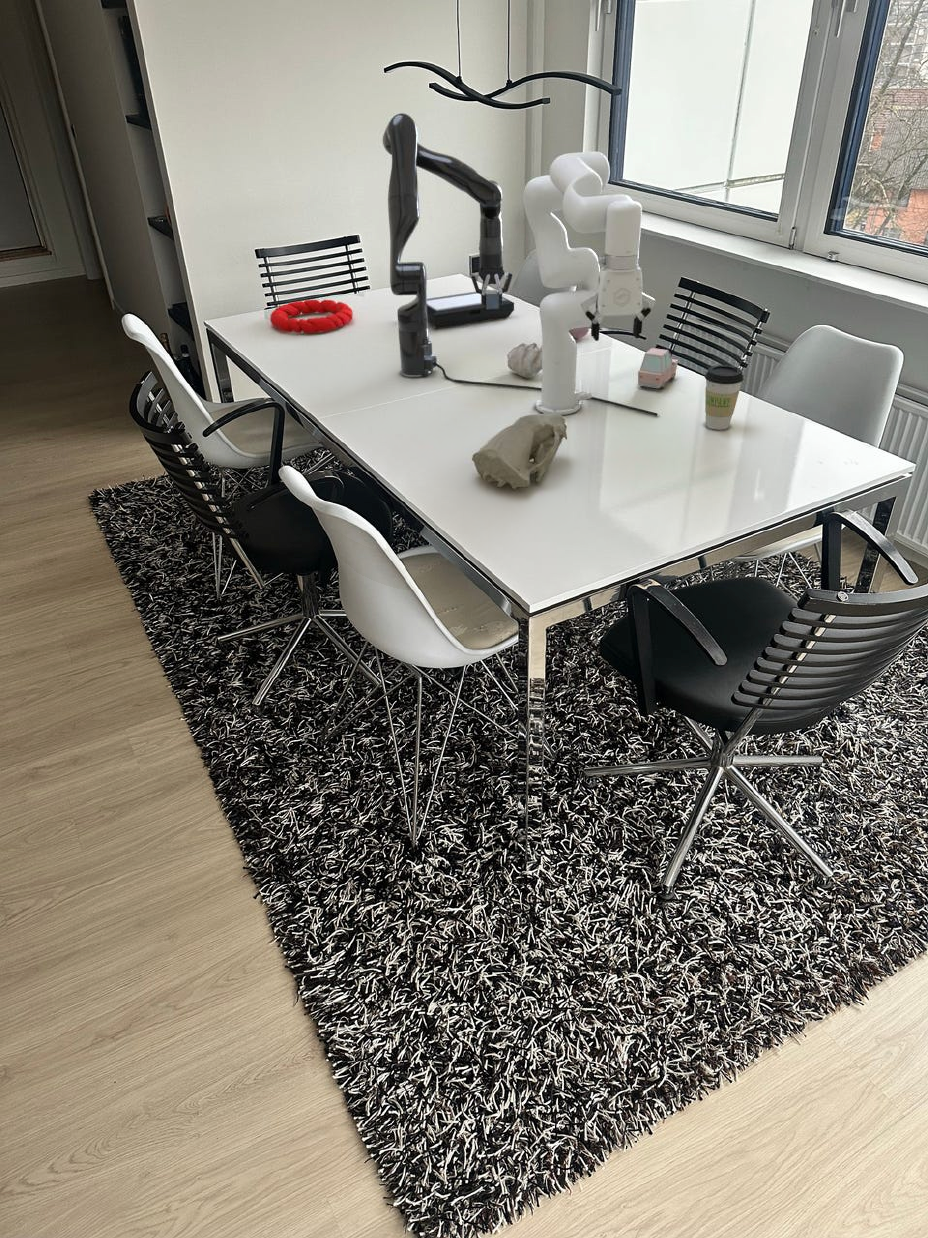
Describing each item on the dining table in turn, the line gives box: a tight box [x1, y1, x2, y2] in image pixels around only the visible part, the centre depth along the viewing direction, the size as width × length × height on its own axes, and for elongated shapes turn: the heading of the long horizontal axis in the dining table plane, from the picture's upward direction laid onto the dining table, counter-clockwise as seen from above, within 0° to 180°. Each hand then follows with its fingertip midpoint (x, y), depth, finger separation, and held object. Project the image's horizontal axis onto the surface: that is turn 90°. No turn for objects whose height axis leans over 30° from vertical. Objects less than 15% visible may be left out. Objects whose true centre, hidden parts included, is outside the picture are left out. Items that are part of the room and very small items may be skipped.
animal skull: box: [471, 412, 568, 490], centre depth 215 cm, size 17×25×20 cm
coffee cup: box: [704, 364, 745, 431], centre depth 235 cm, size 10×10×15 cm
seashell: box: [506, 342, 542, 379], centre depth 273 cm, size 10×15×10 cm
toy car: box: [637, 347, 679, 389], centre depth 265 cm, size 9×15×10 cm, turn 149°
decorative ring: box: [269, 299, 354, 334], centre depth 328 cm, size 7×30×30 cm
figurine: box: [569, 327, 590, 340], centre depth 302 cm, size 9×11×12 cm
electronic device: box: [427, 291, 515, 330], centre depth 327 cm, size 32×6×20 cm
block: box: [485, 289, 499, 309], centre depth 292 cm, size 5×4×5 cm
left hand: (491, 305), depth 293 cm, fingers closed on block, 4 cm apart
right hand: (615, 337), depth 210 cm, fingers open, 9 cm apart
